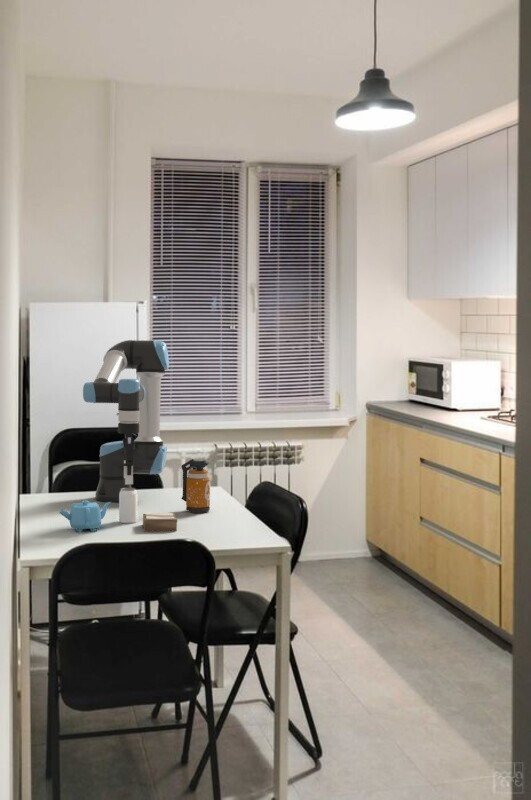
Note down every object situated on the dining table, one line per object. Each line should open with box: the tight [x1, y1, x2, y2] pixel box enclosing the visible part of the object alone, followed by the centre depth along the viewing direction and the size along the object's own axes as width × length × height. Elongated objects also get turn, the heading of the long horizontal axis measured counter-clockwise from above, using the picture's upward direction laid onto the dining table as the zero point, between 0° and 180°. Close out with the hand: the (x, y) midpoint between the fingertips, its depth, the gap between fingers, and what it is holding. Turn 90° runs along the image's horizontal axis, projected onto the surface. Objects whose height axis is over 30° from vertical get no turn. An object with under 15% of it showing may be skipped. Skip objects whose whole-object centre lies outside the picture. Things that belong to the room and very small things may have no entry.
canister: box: [180, 458, 211, 514], centre depth 345 cm, size 9×11×20 cm
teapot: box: [58, 500, 113, 533], centre depth 312 cm, size 18×14×10 cm
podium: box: [142, 512, 178, 533], centre depth 316 cm, size 11×11×4 cm
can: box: [118, 487, 138, 525], centre depth 325 cm, size 6×6×12 cm
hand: (128, 481), depth 324 cm, fingers open, 13 cm apart
